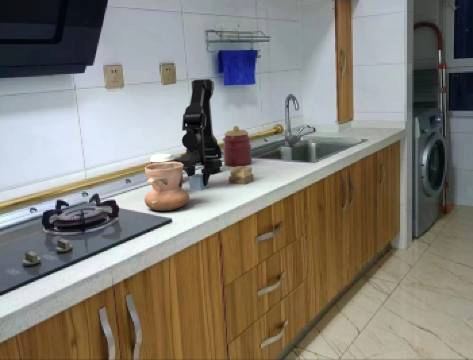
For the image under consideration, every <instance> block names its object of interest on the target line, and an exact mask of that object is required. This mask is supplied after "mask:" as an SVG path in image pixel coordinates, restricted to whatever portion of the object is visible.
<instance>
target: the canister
mask: <svg viewBox="0 0 473 360" xmlns="http://www.w3.org/2000/svg"><path fill="white" fill-rule="evenodd" d="M249 134H250V133H249V132H248V131H246V130H245V129H240V127H239V126H237V125H234V126H233V127H232V130H227V131H226V132H225V133H224V134H223V136H224V137H223V138H222V141H223V147H222V148H223V163H224V166H227V167H238V166H244V167H245V166H248V165H251V164H252V162H253V161H252V160H253V159H252V157H253V156H252V144H251V141H250V140H251V139H252V138H251V136H249Z"/></svg>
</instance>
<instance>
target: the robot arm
mask: <svg viewBox="0 0 473 360" xmlns="http://www.w3.org/2000/svg"><path fill="white" fill-rule="evenodd" d="M190 84H191V91H192V92H191V96H190V97H191V98H190V103H189V105H188V106H187V107H186V108H185V111H184V113H183V115H182V122H181V123H182V126H181V130H182V131H181V132H183V131H184V132H185V131H186V132H185V133H184V135H183V136H182V139H181V144H182V146H184V148H186V149H185V153H184V154H182V155H181V158H177V159H175V160H174V162H179V163H182V164H183V172H185V173H186V175H187V177H188V178H189V176H192V175H195V174H196V166H198V167H199V166H200V167H201V166H202V168H201V169H200V174H203V183H204V186H207V183H208V184H209V179H210V177H211V175H215V174H217V173H221V172H222V169H221V168H222V167H223V161H222V160H221V159H222V158H223V156H222V151H221V150H222V148H221V147H220V144H218V139H217V138H216V137H215V135H214V131H213V120H212V117H213V116H212V109H211V107H212V106H211V99H212V97H213V95H214V91H215V82H214V80H212V79H211V78H203V79H201V78H200V79H194V80H192V81H191V83H190Z"/></svg>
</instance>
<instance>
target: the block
mask: <svg viewBox="0 0 473 360" xmlns="http://www.w3.org/2000/svg"><path fill="white" fill-rule="evenodd" d="M188 182H189V190H195V191H202V190H205V189H208V188H209V182H208V183H207V186H204V183H203V173H195V175H192V176H189V177H188Z"/></svg>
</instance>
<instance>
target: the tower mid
mask: <svg viewBox="0 0 473 360" xmlns="http://www.w3.org/2000/svg"><path fill="white" fill-rule="evenodd" d="M252 168H253V167H252V166H245V165H244V166H234V167H231V168H230V169H229V170H230V176H231V177H240V178H245V177H247V176H250V175H252V174H253V169H252Z"/></svg>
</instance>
